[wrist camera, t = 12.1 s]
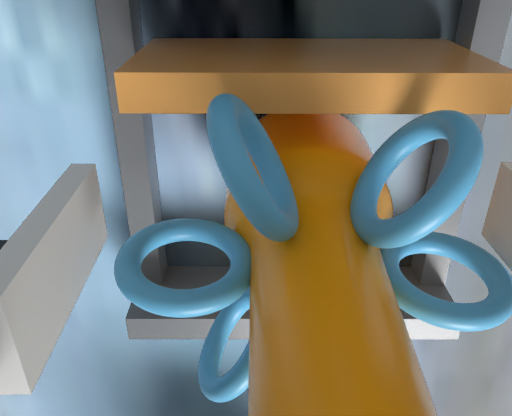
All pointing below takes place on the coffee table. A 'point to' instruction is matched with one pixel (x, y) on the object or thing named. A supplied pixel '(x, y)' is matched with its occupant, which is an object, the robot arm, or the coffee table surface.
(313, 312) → the cylinder
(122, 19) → the frame
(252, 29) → the coffee table surface
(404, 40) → the bar
